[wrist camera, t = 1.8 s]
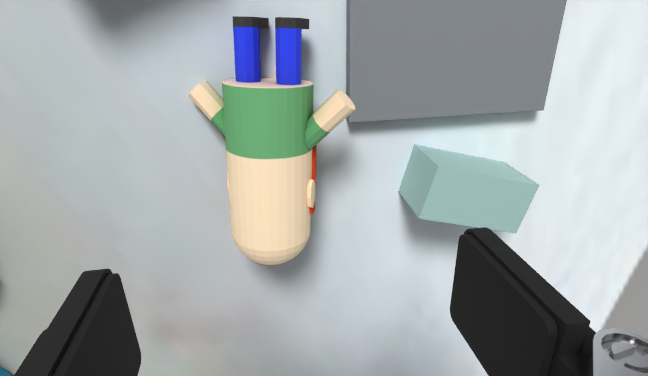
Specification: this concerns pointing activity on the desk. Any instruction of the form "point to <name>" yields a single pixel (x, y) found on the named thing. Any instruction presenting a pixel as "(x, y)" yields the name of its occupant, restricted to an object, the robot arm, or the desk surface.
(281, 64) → the toy figurine
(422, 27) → the mat
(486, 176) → the teal brick
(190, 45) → the desk surface
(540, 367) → the robot arm
